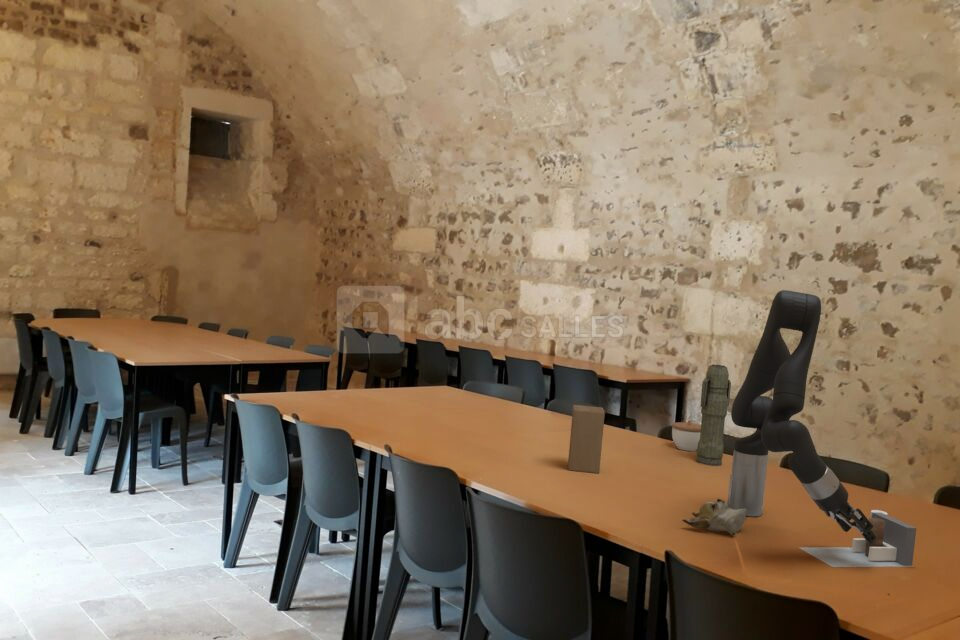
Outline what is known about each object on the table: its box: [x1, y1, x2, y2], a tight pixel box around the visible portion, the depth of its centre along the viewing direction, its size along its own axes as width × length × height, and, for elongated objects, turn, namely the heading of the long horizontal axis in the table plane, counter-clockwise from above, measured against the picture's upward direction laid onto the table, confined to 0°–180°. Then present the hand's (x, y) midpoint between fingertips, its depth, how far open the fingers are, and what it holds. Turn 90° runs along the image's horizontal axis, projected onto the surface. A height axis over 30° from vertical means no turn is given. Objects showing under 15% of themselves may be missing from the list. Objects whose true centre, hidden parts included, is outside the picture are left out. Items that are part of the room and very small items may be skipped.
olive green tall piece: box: [696, 364, 732, 467], centre depth 299 cm, size 9×12×35 cm
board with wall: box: [798, 512, 917, 568], centre depth 200 cm, size 22×13×10 cm, turn 103°
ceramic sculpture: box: [682, 498, 747, 536], centre depth 217 cm, size 11×9×15 cm
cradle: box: [851, 537, 897, 561], centre depth 201 cm, size 7×7×3 cm
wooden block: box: [567, 404, 606, 474], centre depth 274 cm, size 10×10×20 cm
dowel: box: [865, 517, 885, 557], centre depth 201 cm, size 4×4×9 cm
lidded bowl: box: [671, 419, 701, 452], centre depth 321 cm, size 13×13×11 cm
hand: (860, 534), depth 200 cm, fingers open, 8 cm apart
